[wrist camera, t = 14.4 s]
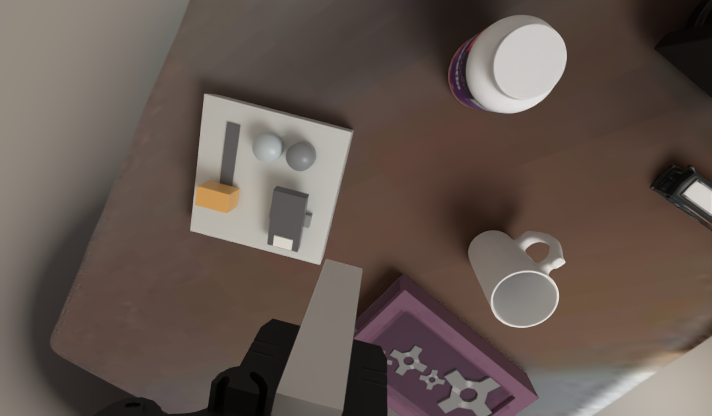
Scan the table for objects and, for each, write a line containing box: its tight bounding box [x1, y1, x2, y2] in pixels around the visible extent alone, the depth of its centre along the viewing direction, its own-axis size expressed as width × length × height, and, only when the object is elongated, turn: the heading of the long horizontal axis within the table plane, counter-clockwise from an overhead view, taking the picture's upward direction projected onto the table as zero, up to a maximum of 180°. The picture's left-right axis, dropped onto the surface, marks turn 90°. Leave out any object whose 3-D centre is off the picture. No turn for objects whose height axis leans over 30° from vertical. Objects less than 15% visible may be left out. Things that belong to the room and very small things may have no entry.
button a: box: [286, 141, 316, 171], centre depth 41 cm, size 3×3×2 cm
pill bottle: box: [448, 15, 567, 113], centre depth 34 cm, size 8×8×14 cm
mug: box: [468, 230, 565, 328], centre depth 41 cm, size 10×7×12 cm, turn 138°
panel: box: [190, 94, 354, 265], centre depth 45 cm, size 18×18×4 cm
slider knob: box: [195, 180, 240, 213], centre depth 43 cm, size 2×4×3 cm, turn 76°
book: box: [353, 273, 538, 416], centre depth 51 cm, size 25×16×5 cm, turn 50°
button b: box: [252, 133, 284, 163], centre depth 41 cm, size 3×3×2 cm
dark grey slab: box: [267, 186, 309, 252], centre depth 43 cm, size 8×4×1 cm, turn 166°
